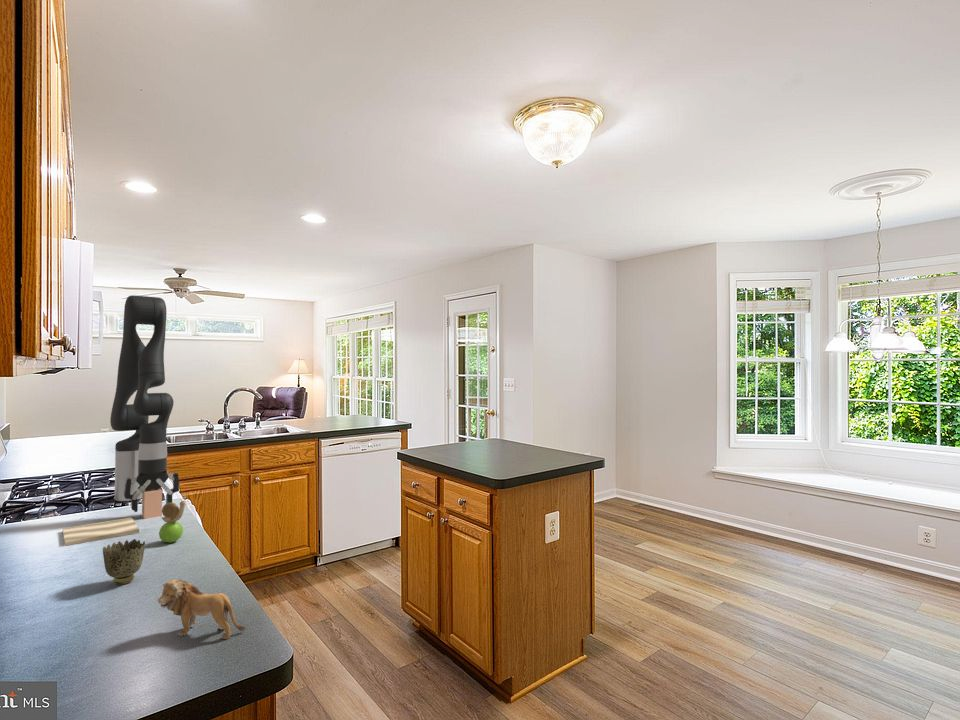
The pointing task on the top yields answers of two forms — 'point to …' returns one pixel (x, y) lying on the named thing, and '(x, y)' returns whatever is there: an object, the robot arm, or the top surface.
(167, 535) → the snail figurine
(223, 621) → the lion figurine
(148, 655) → the top surface
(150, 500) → the terracotta block
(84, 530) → the birch board
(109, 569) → the cup
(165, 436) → the robot arm
